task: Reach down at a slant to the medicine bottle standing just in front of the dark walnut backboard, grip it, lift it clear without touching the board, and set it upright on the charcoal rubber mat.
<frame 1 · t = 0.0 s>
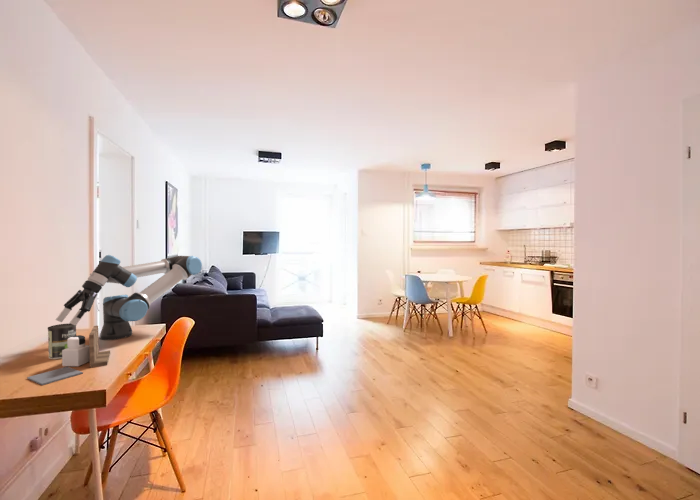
hand: (65, 322, 162), 15 cm above the table, tool tilted 35°, fingers open, 13 cm apart
charcoal mat: (55, 376, 137), on the table
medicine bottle: (76, 364, 151), on the table
coffee can: (62, 356, 161), on the table
walnut backboard: (94, 361, 154), on the table
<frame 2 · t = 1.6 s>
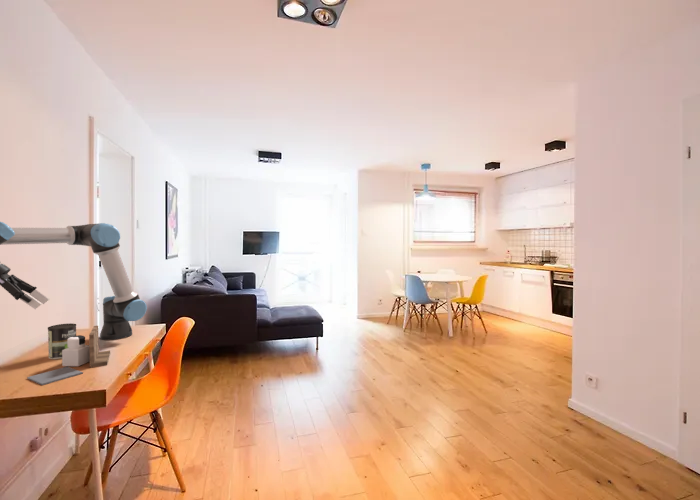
hand: (42, 304, 144), 27 cm above the table, tool tilted 45°, fingers open, 13 cm apart
nothing on the table moved.
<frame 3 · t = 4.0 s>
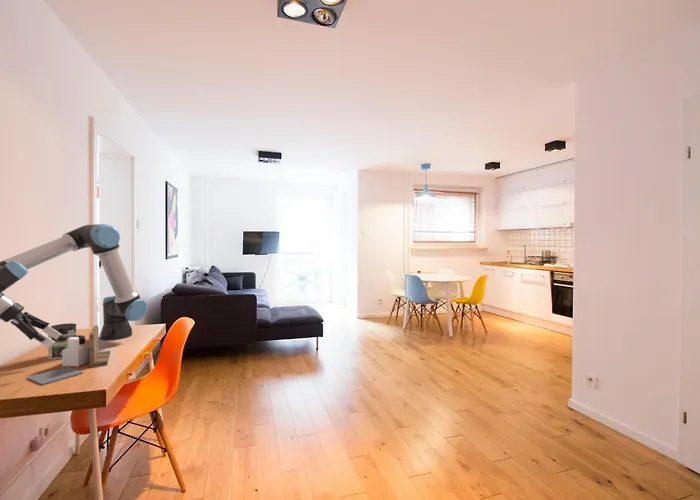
hand: (55, 340, 147), 11 cm above the table, tool tilted 45°, fingers open, 13 cm apart
nothing on the table moved.
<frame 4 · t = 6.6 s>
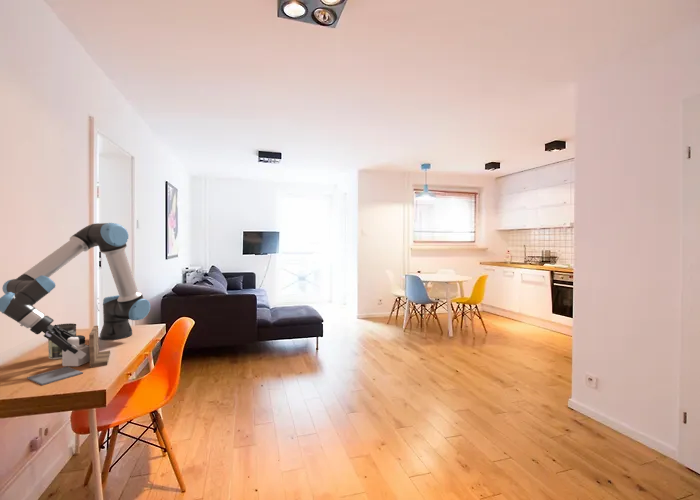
hand: (85, 353, 152), 4 cm above the table, tool tilted 45°, fingers closed on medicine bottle, 10 cm apart
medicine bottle: (76, 364, 151), on the table, touching gripper
everything else where it was.
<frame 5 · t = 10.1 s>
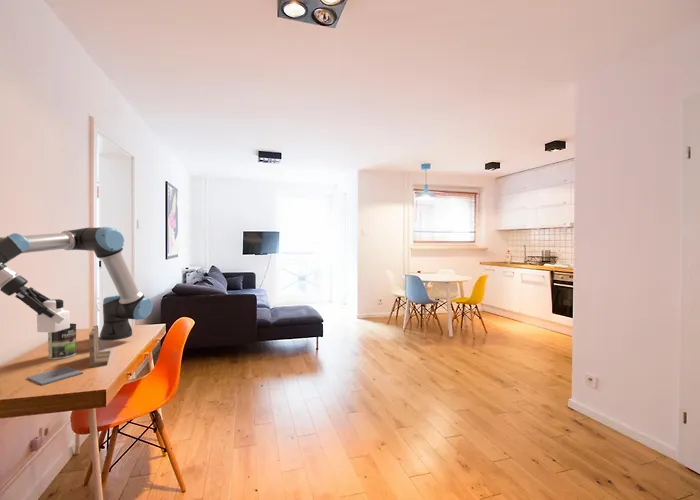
hand: (64, 318, 138), 23 cm above the table, tool tilted 45°, fingers closed on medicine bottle, 10 cm apart
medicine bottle: (54, 330, 136), point 18 cm above the table, touching gripper
everything else where it was.
when the fingers open (6 cm above the table, at t = 13.6 s): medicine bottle drops 1 cm, resting on charcoal mat.
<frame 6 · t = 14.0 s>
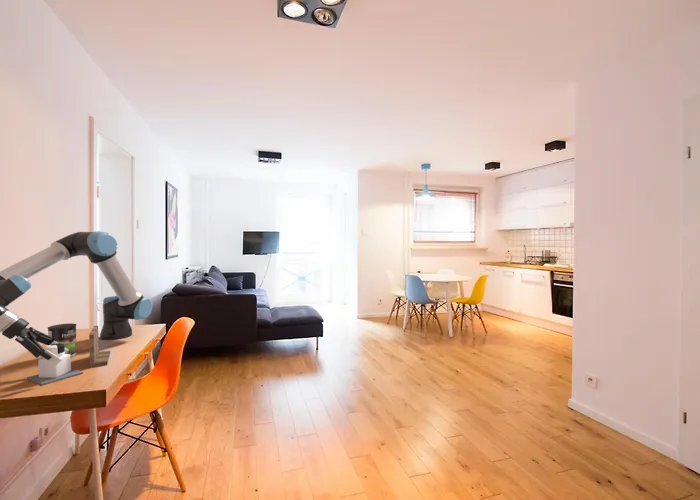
hand: (62, 357, 138), 7 cm above the table, tool tilted 45°, fingers open, 13 cm apart
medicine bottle: (55, 374, 137), resting on charcoal mat
everything else where it was.
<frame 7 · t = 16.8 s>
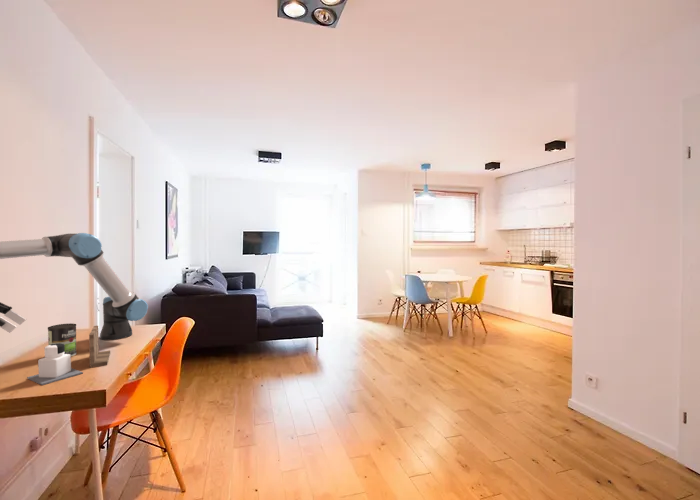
hand: (18, 325, 135), 20 cm above the table, tool tilted 45°, fingers open, 13 cm apart
nothing on the table moved.
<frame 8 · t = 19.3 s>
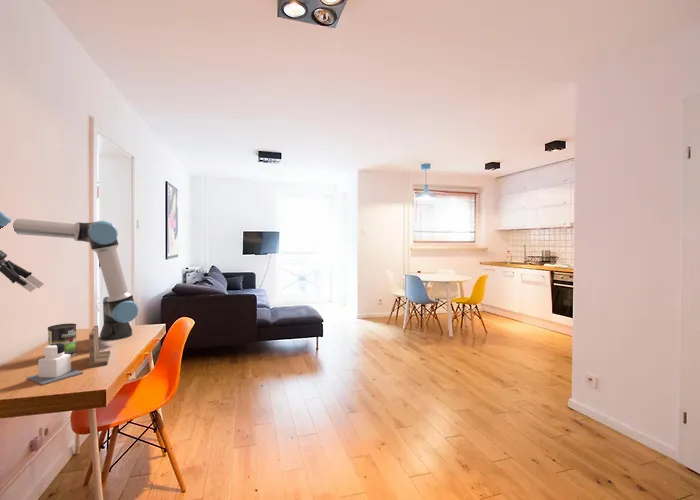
hand: (37, 287, 154), 33 cm above the table, tool tilted 45°, fingers open, 13 cm apart
nothing on the table moved.
at the end: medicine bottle inside the target area on the charcoal mat (0.2 cm from its centre), point 0.4 cm above the charcoal mat's base; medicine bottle tilted 0°; the gripper is holding nothing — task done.
